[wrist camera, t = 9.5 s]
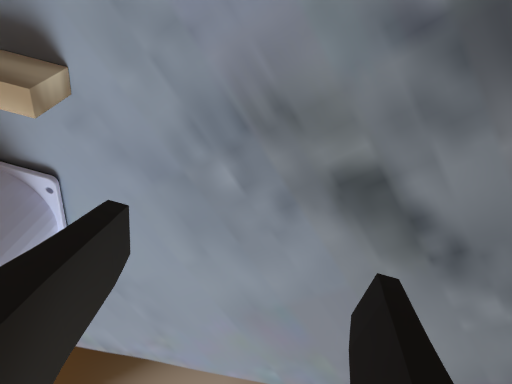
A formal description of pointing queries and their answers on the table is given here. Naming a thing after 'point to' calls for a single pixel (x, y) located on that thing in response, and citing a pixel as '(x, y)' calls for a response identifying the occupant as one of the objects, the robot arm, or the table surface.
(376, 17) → the table surface
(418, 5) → the table surface
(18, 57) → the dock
